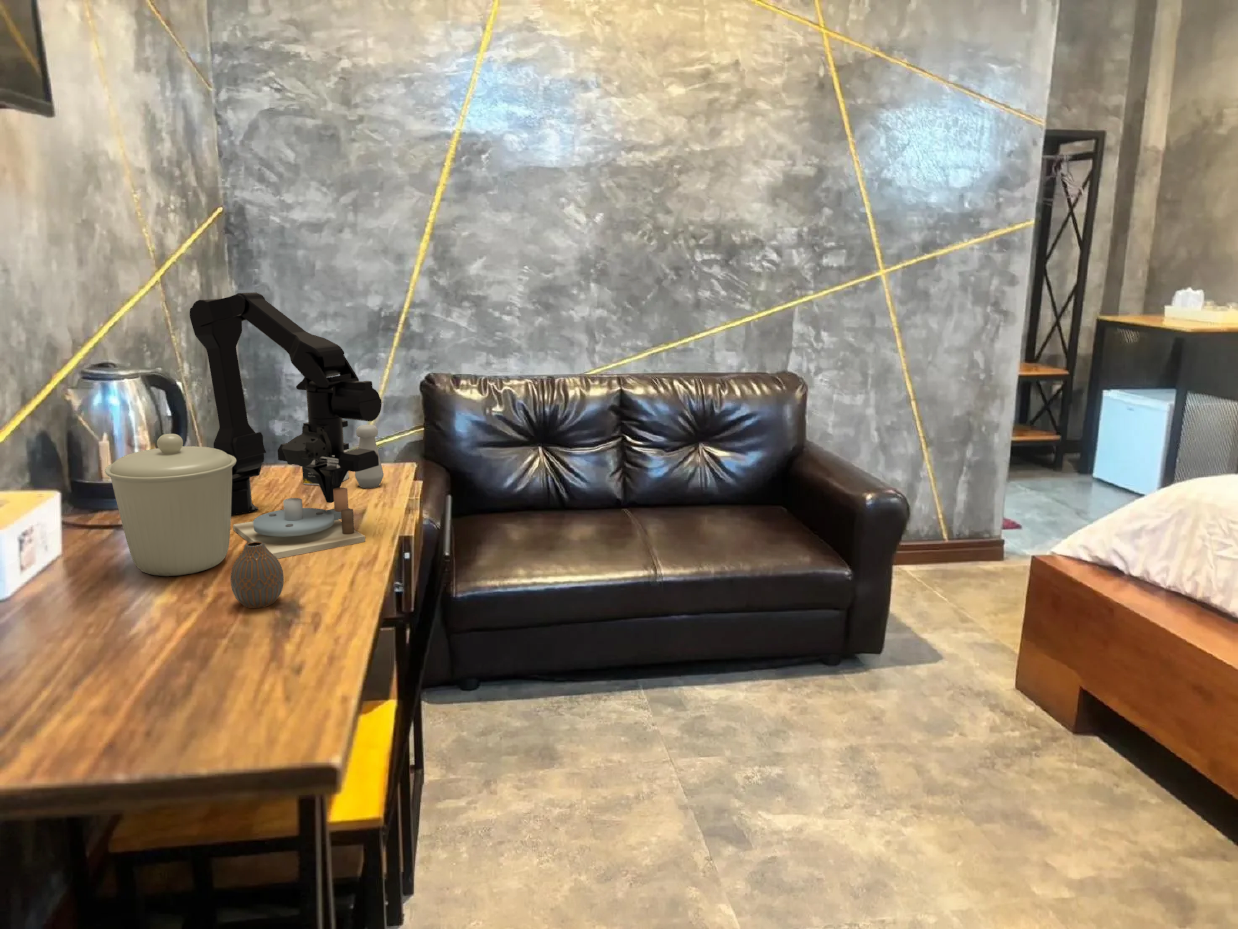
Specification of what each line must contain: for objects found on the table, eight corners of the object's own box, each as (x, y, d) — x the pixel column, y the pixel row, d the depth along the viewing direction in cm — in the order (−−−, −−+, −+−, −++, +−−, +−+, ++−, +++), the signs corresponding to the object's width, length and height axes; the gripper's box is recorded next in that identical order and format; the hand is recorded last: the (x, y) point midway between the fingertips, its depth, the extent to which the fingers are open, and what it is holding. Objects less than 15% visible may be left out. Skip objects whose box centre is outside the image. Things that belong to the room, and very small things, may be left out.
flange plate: (269, 541, 146) (267, 511, 145) (243, 523, 156) (240, 495, 155) (365, 523, 157) (364, 495, 156) (335, 507, 166) (333, 480, 165)
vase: (235, 615, 123) (229, 554, 121) (230, 598, 129) (225, 540, 127) (288, 607, 126) (284, 547, 124) (281, 591, 132) (277, 533, 130)
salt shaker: (379, 489, 189) (376, 428, 186) (352, 489, 189) (348, 427, 186) (387, 482, 194) (384, 423, 192) (360, 482, 195) (357, 422, 192)
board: (233, 530, 161) (231, 502, 159) (322, 515, 170) (320, 489, 169) (269, 560, 145) (267, 530, 144) (365, 541, 155) (363, 513, 154)
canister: (99, 565, 142) (83, 433, 137) (215, 540, 155) (203, 418, 150) (144, 595, 130) (127, 452, 125) (265, 565, 143) (254, 434, 138)
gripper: (249, 418, 155) (256, 506, 159) (332, 429, 147) (337, 521, 151) (298, 409, 165) (304, 491, 169) (378, 418, 157) (382, 505, 161)
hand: (330, 502), depth 162 cm, fingers closed
